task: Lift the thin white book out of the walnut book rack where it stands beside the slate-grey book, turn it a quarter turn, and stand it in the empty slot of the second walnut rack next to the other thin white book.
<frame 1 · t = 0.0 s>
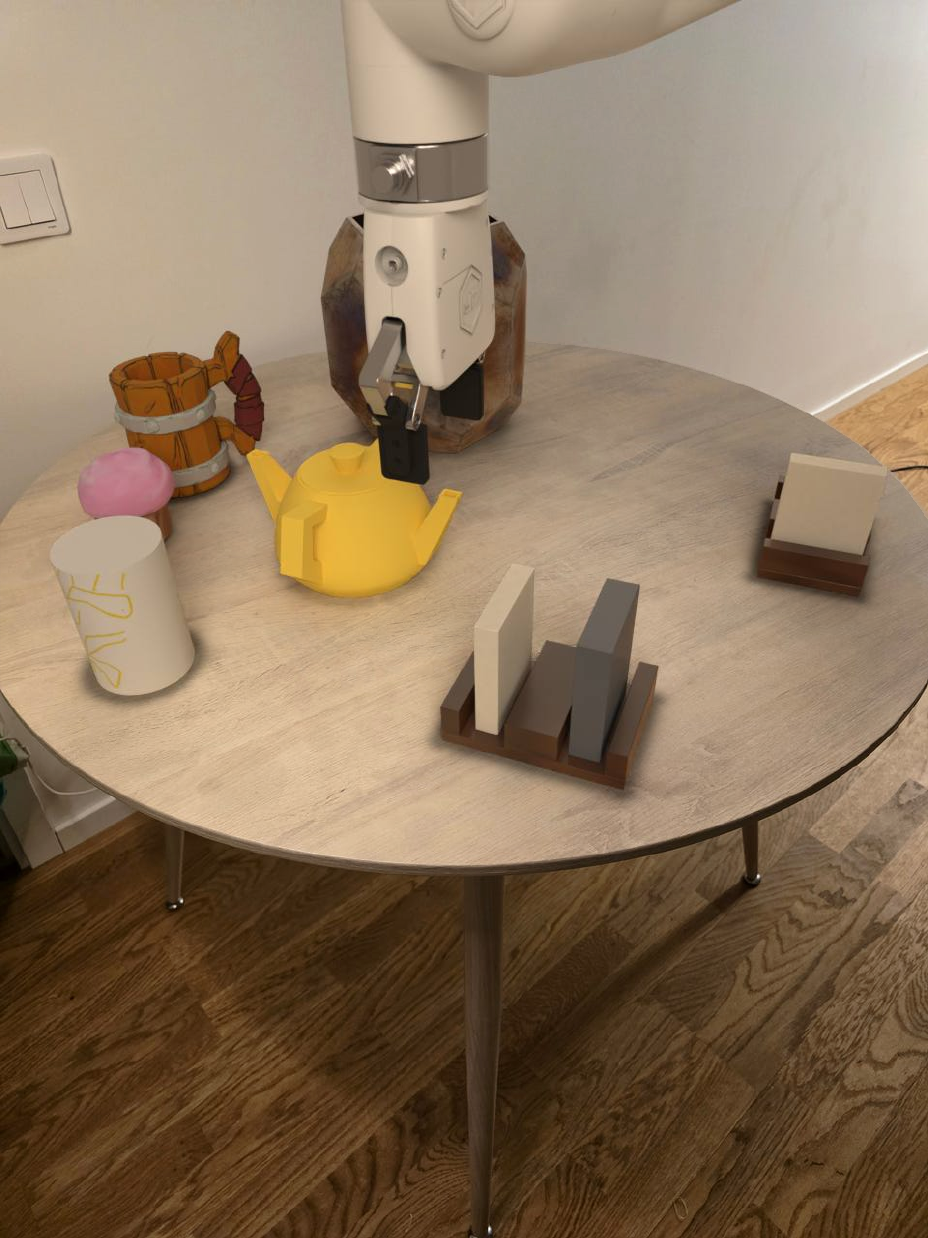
hand: (435, 446, 59), 20 cm above the table, tool pointing down, fingers open, 9 cm apart
white book: (504, 697, 67), point 1 cm above the table, touching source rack
white book 2: (811, 559, 81), point 1 cm above the table, touching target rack
grey book: (598, 722, 65), point 1 cm above the table, touching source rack
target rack: (812, 547, 84), on the table
cup: (146, 664, 73), on the table
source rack: (549, 719, 67), on the table
mug: (205, 472, 99), on the table
teapot: (359, 560, 85), on the table
planter: (433, 424, 108), on the table
cupcake: (143, 545, 88), on the table
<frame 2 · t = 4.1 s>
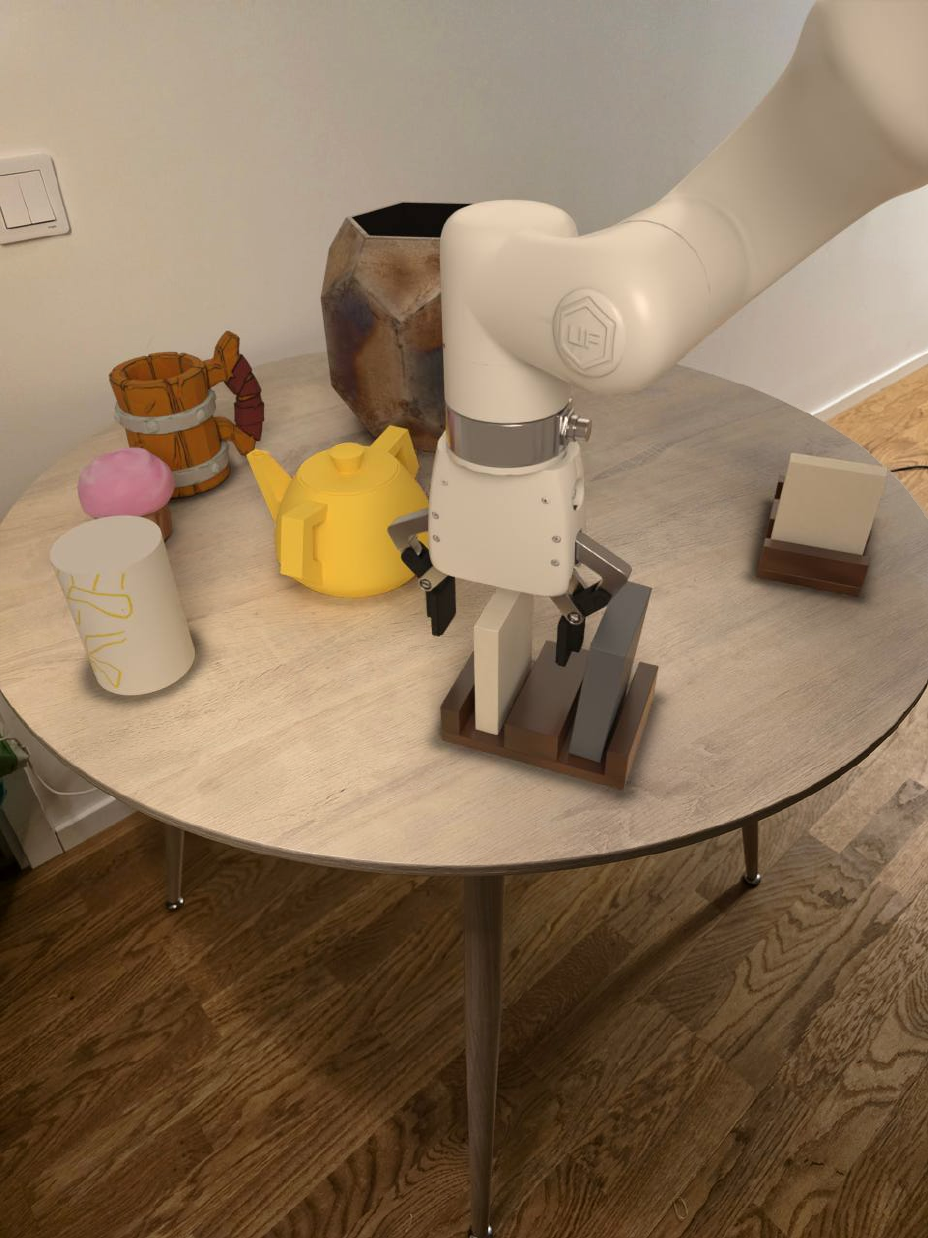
hand: (503, 639, 64), 7 cm above the table, tool pointing down, fingers open, 9 cm apart
nothing on the table moved.
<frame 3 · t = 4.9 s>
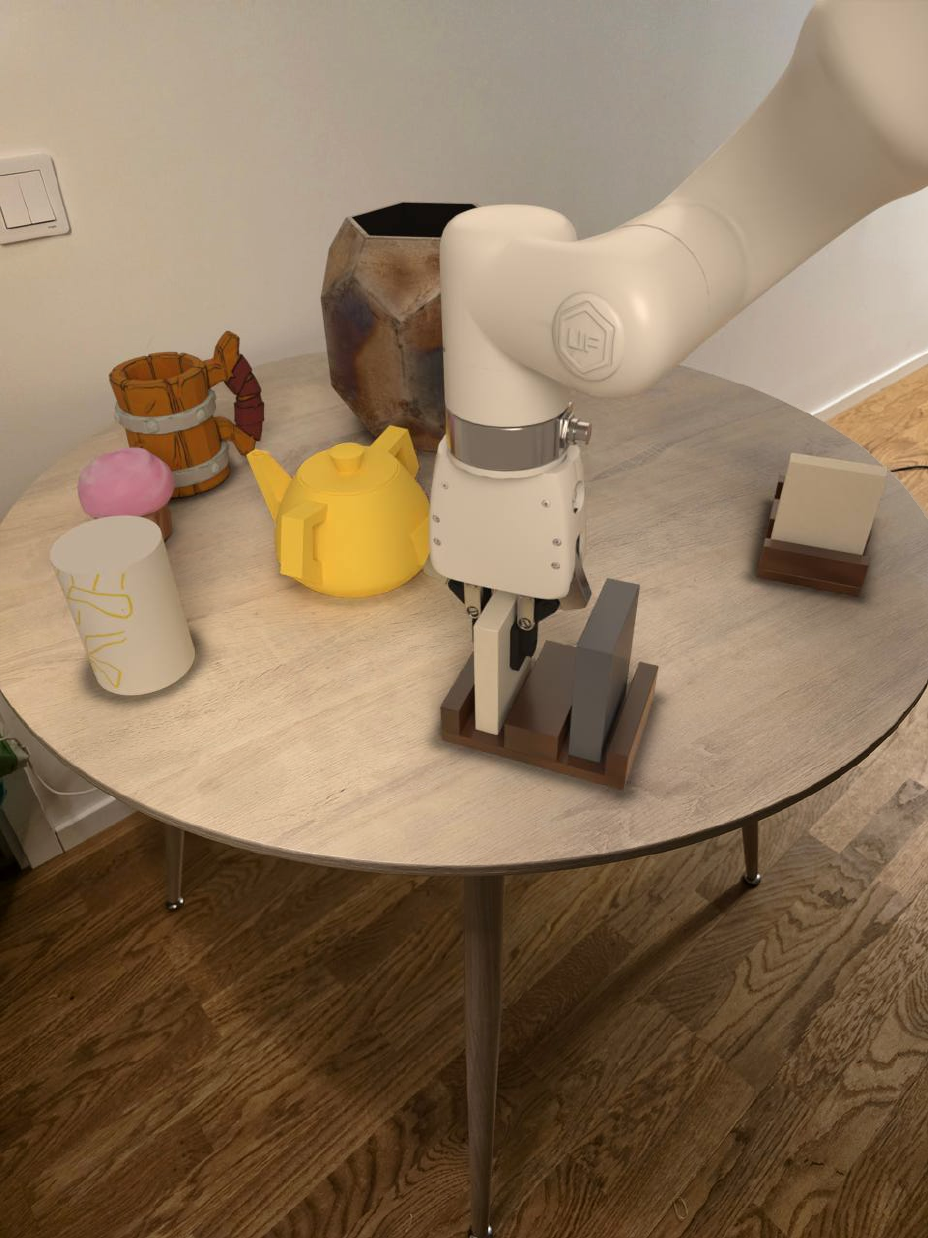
hand: (504, 653, 64), 6 cm above the table, tool pointing down, fingers closed on white book, 1 cm apart
white book: (504, 697, 67), point 1 cm above the table, touching gripper, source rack
everything else where it was.
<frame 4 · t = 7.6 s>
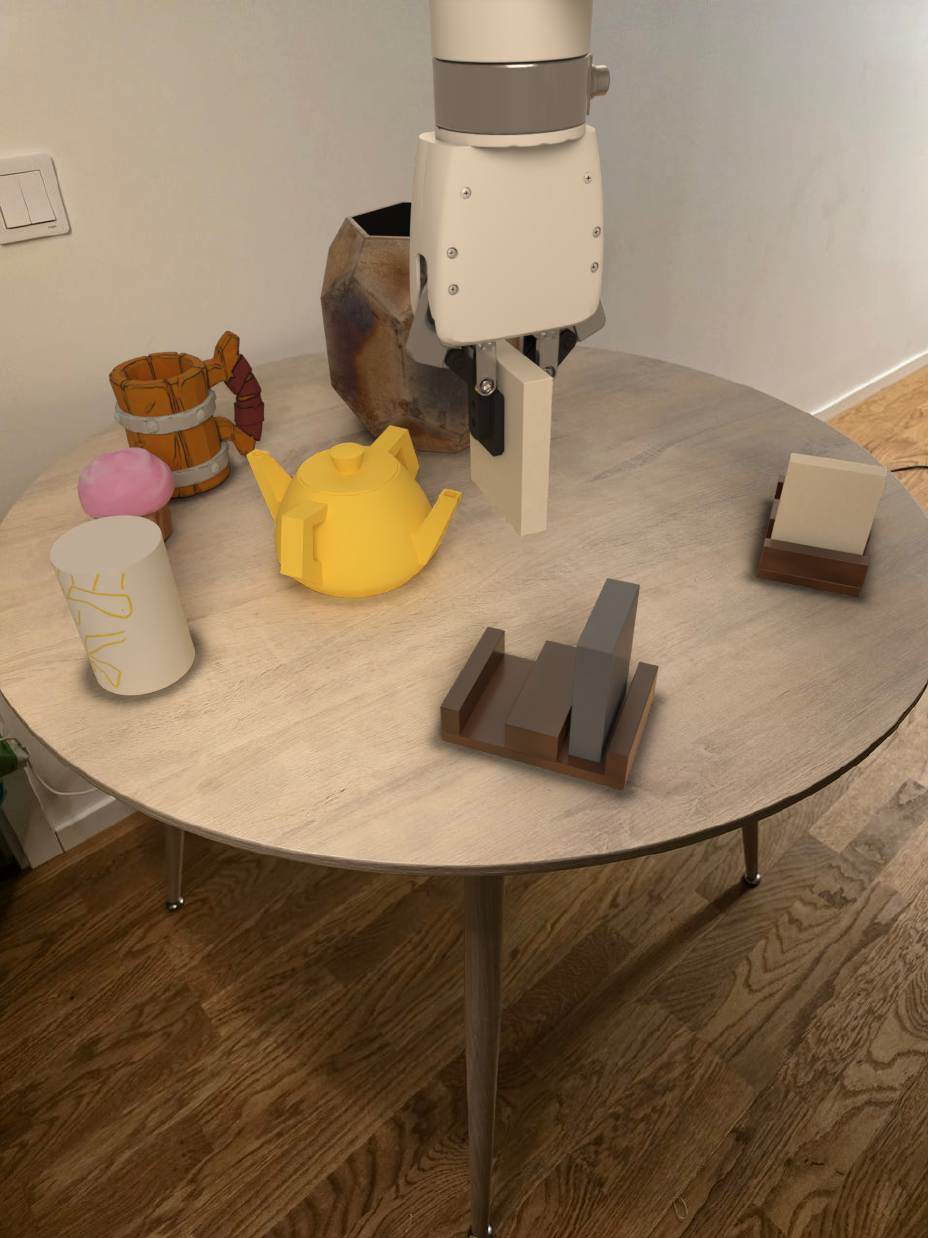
hand: (507, 440, 54), 23 cm above the table, tool pointing down, fingers closed on white book
white book: (507, 504, 56), point 18 cm above the table, touching gripper
everything else where it was.
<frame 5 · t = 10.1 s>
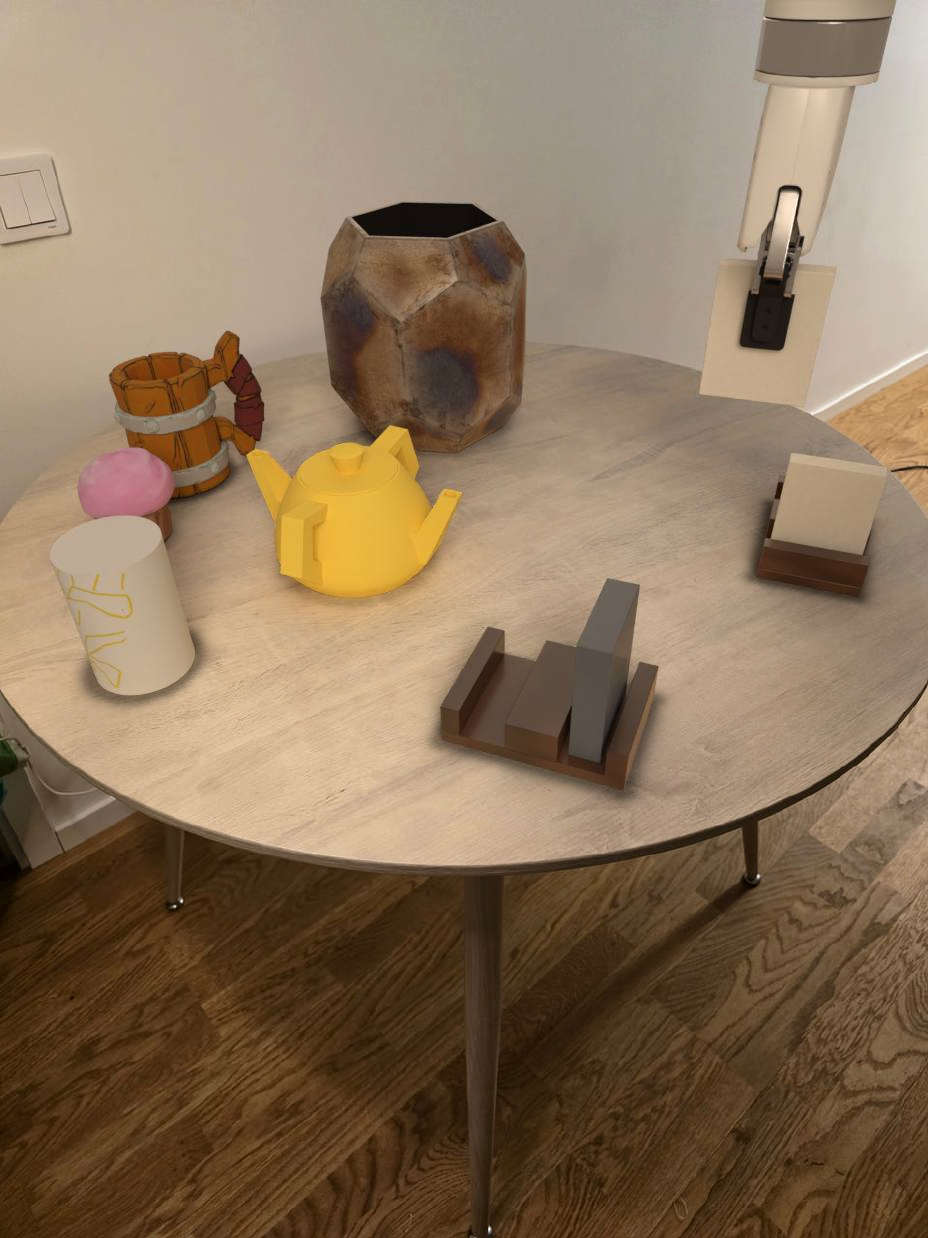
hand: (763, 339, 65), 23 cm above the table, tool pointing down, fingers closed on white book
white book: (751, 396, 68), point 19 cm above the table, touching gripper
everything else where it was.
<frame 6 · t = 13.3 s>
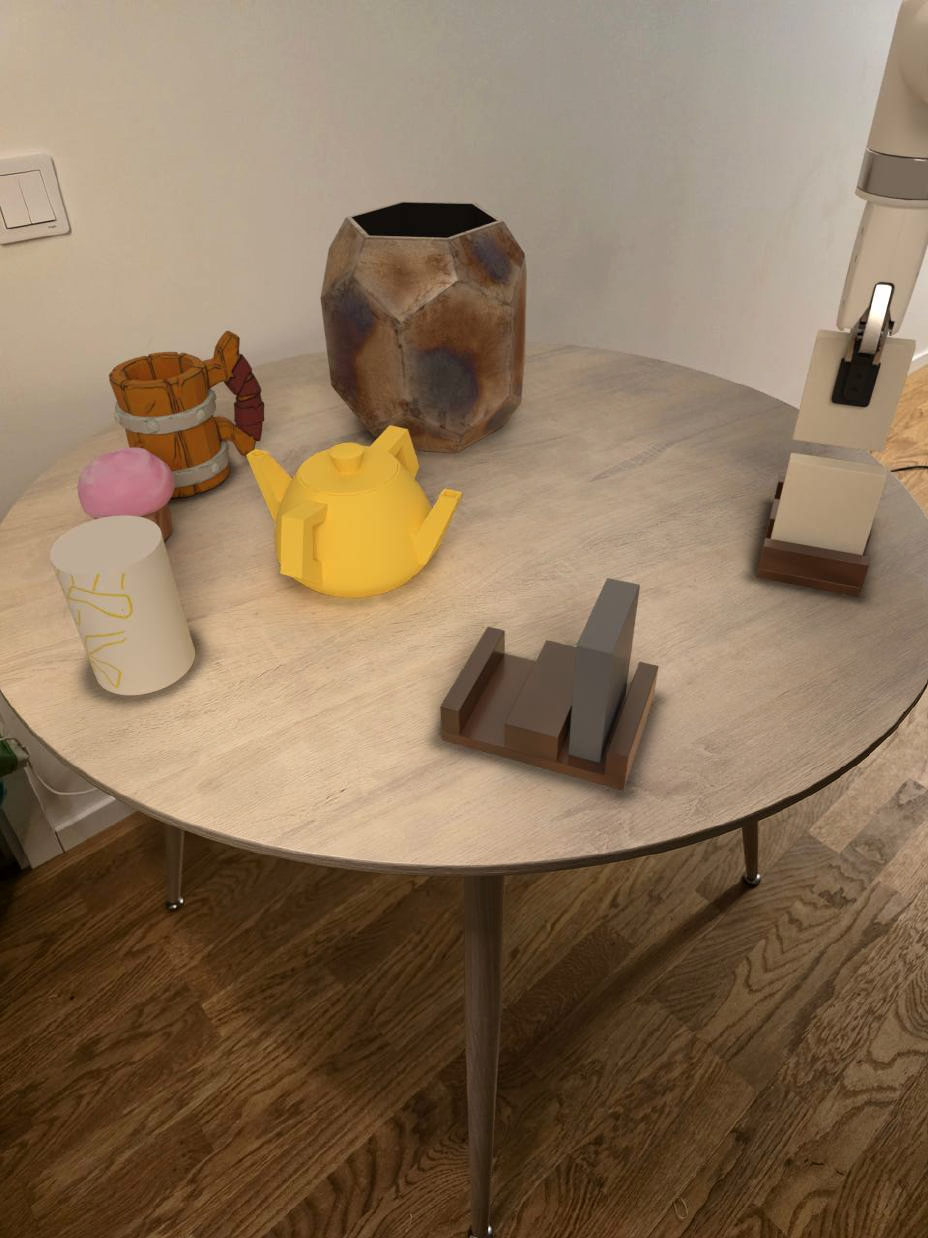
hand: (850, 396, 78), 14 cm above the table, tool pointing down, fingers closed on white book
white book: (837, 442, 81), point 9 cm above the table, touching gripper
everything else where it was.
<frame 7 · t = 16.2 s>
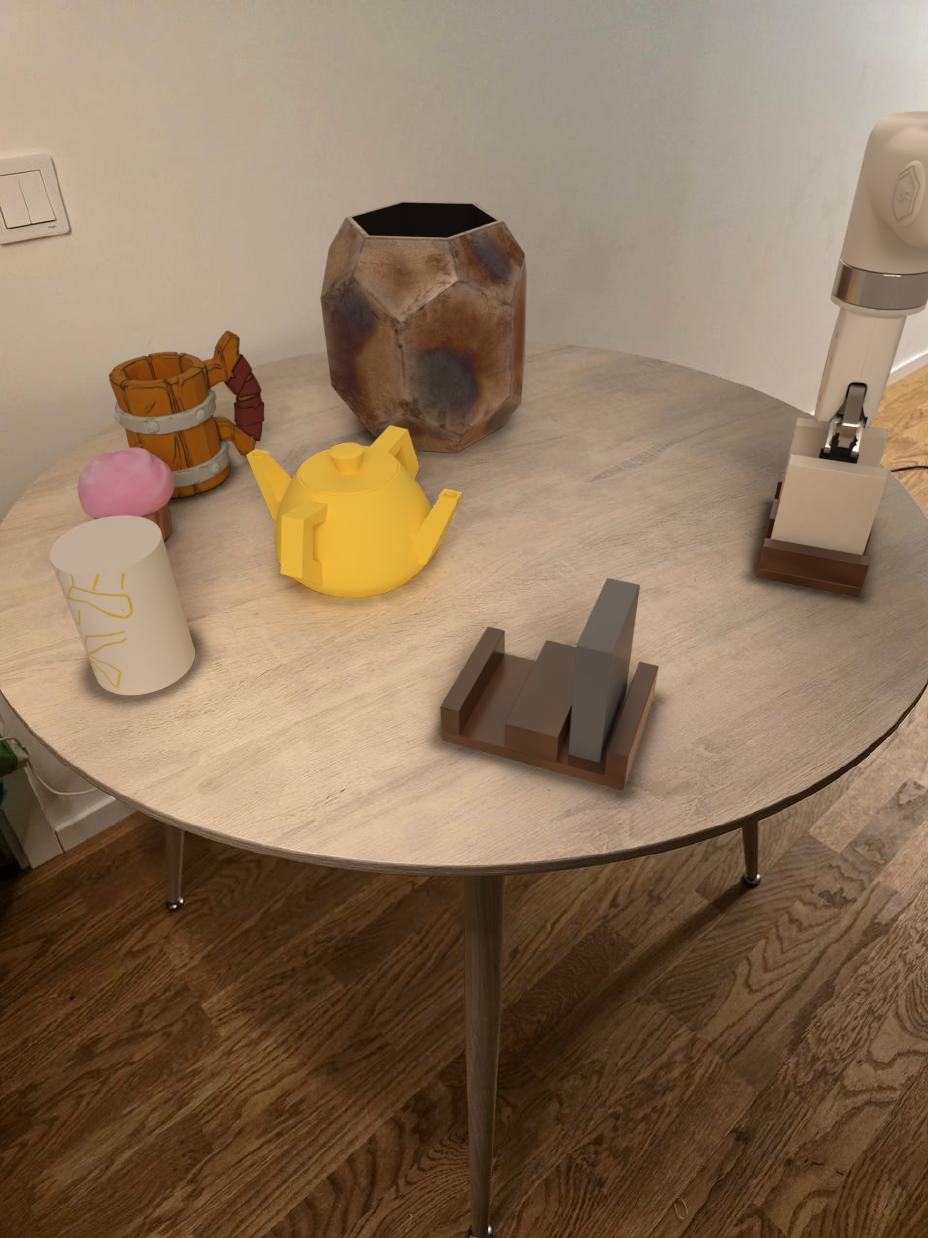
hand: (832, 466, 83), 7 cm above the table, tool pointing down, fingers open, 9 cm apart
white book: (816, 518, 87), point 1 cm above the table, touching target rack
everything else where it was.
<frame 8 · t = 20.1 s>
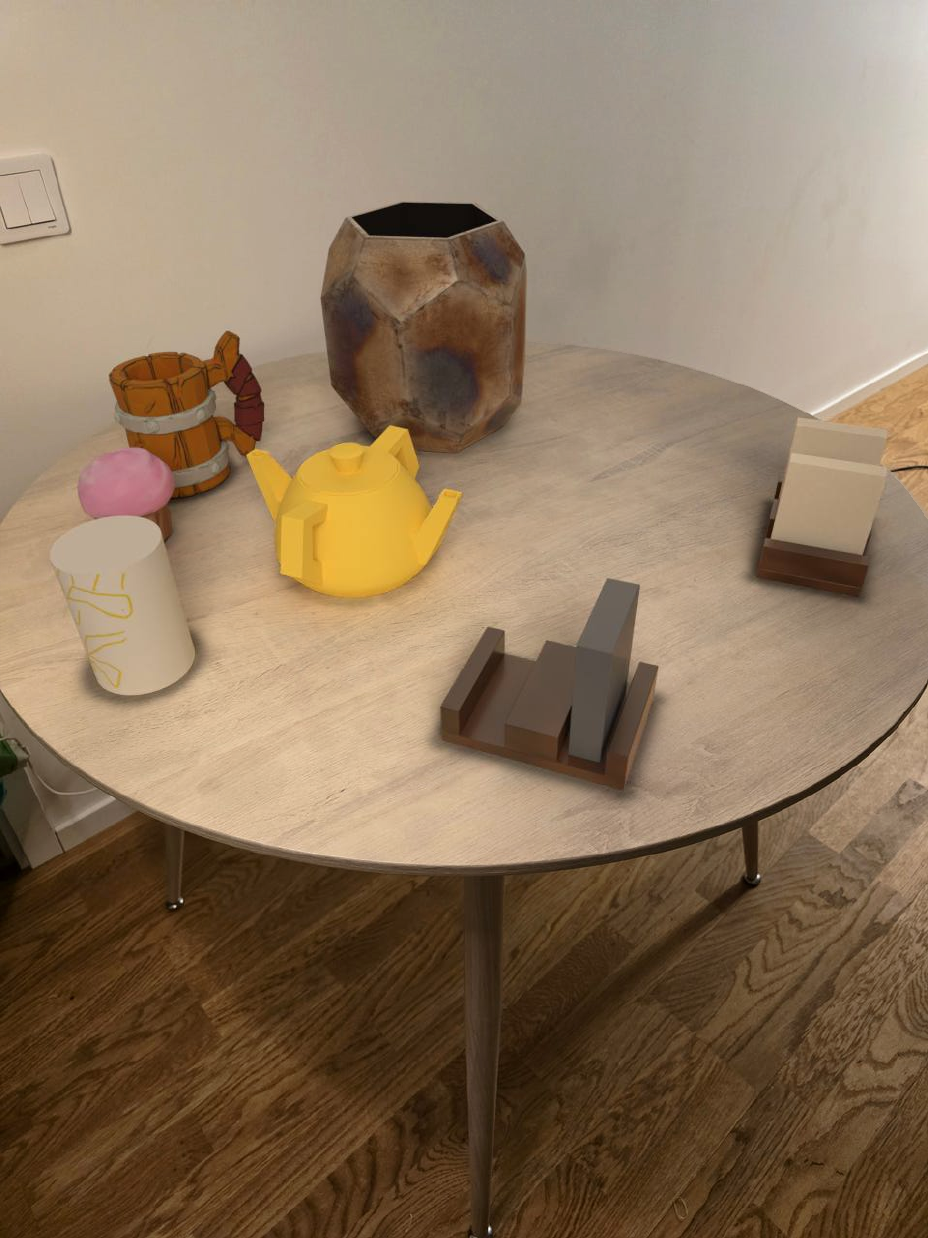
nothing on the table moved.
at the end: white book 0.1 cm from the target spot on the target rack, point 1.0 cm above the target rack's base; white book tilted 0°; grey book moved 0.0 cm from its start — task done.
